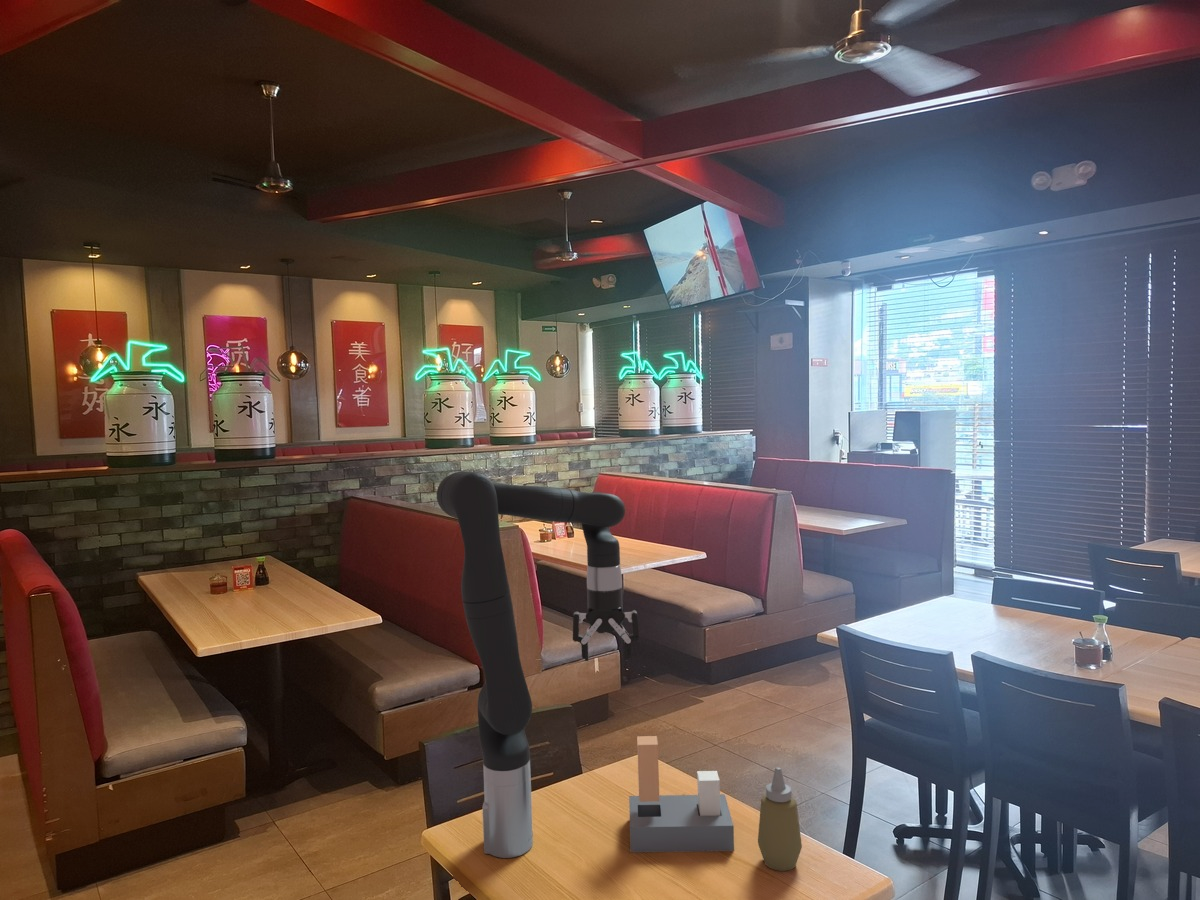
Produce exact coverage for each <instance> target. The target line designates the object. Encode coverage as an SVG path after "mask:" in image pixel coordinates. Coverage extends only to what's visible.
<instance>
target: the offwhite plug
mask: <svg viewBox="0 0 1200 900" xmlns="http://www.w3.org/2000/svg"><path fill="white" fill-rule="evenodd" d="M696 772H697V775H696V776H697V778H696V779H697V795H698V814H699V816H720V794H721V787H720V786H721V783H720V777H719V774H718V770H697V771H696Z"/></svg>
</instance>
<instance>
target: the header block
mask: <svg viewBox="0 0 1200 900" xmlns="http://www.w3.org/2000/svg"><path fill="white" fill-rule="evenodd" d="M726 797H727V796H726V794H724V793H723V794H721V793H720V816H699V814H698V794H675V795H674V794H673V795H672V794H670V795H669V794H667V795H660V794H659V801H649V802H639V795H629V796H628V798H629V799H628V803H629V805H628V808H629V837H630V838H629V841H630V847H629V848H630V853H669V852H670V853H671V852H672V853H675V852H676V853H680V852H681V853H682V852H684V853H686V852H689V853H691V852H734V851H735V840H734V839H735V835H734V834H735V833H734V831H735V830H734V829H735V826H734V822H733V819H732V816H731V811H730V808H729V804H728V801H727V800H728V799H727V798H726Z"/></svg>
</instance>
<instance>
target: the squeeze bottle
mask: <svg viewBox="0 0 1200 900" xmlns="http://www.w3.org/2000/svg"><path fill="white" fill-rule="evenodd" d="M792 795H793V794H792V787H791V786H790V785H788V784H786V783H785V778H784V774H783V771H782V768H781V767H775V768H774V773H773V777H772V781H771V782H770V783H768V784H767V785H766V786H765V795H764V796H762V798H761V800H760V807H759V812H760V813H759V822H758V835H757V845H758V848H759V851H760V853H761V856H762V859H763V861H764V864H765V865H766V866H767V867H768V868H770V869H772V870H775V871H780V872H787V871H791V870H793V869H794V868H796V865H797V863H798V859H799V858H800V853H801V851H802V849H803V843H802V837H801V830H800V829H801V828H800V821H799V811H798V804H797V800H796V799H795V798H793V797H792Z"/></svg>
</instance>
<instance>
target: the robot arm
mask: <svg viewBox="0 0 1200 900" xmlns="http://www.w3.org/2000/svg"><path fill="white" fill-rule="evenodd" d="M436 500H437V503H438V506H439V507H440V509H441V510H442V511H443V513H445V514H446V515H448V516H449V517H452V518H454V519H457V521H458V525H459V528H460V533H461V538H462V542H463V548H464V559H463V568H462V573H461V583H460V584H461V585H460V591H461V599H462V606H463V611H464V616H465V621H466V624H467V628H468V631H469V634H470V636H471V639H472V644H473V645H474V648H475V651H476V653H477V656H478V658H479V660H480V664H481V666H482V667H481V668H482V670H483V676H484V682H485V683H483V685H482V687H481V689H480V690H479V693H478V698H477V721H478V736H479V744H480V745H479V746H480V750H481V754H482V764H483V793H484V800H483V803H482V828H483V829H482V830H483V853H484V854H486V855H488V854H489V855H491V856H494V857H497V858H502V859H509V858H510V859H511V858H516V857H520V856H521V855H524V854H526V853H527V852H528V851H530V849H532V847H533V845H534V839H533V838H534V837H533V836H534V832H533V807H532V783H531V782H532V781H531V779H532V778H531V756H530V755H531V751H530V744H529V742H528V739H527V735H526V731H525V729H526V727H527V725H528V724H529V722H530V720H531V717H532V712H533V701H532V698H531V694H530V691H529V688H528V684H527V681H526V678H525V673H524V670H523V666H522V663H521V658H520V652H519V641H518V636H517V635H518V633H517V626H516V620H515V614H514V606H513V600H512V594H511V590H510V585H509V580H508V579H509V578H508V575H507V570H506V569H507V568H506V564H505V558H504V554H503V548H502V544H501V543H502V541H501V533H500V521H499V520H500V517H499V515H502V516H511V517H517V518H518V517H519V518H525V519H531V520H537V521H543V522H551V523H554V522H555V523H564V524H565V523H566V524H568V523H569V524H572V523H573V524H574V523H575V524H578V523H580V525H581V527H582V532H583V536H584V539H585V542H586V557H587V558H586V559H587V562H586V563H587V569H586V570H587V571H586V592H587V594H586V596H587V597H586V598H587V599H586V600H587V610H586V612H579V611H578V610H577V611H574V612H573V617H572V641H573V642H575V643H579V644H580V645H581V658H582V659H584V662H589V658H590V655H589V654H590V653H589V640H590V639H591V638H592V637H593V635H594V634H595V632H596V633H598V634H605V633H607V634H614V632H616V633H617V634H618V635H619V637H621V638H622V640H623V643H624V644H623V645H624V647H623V648H624V649H623V650H624V661H629V659H630V658H631V656H632V642H635V641H638V640H639V639H640V632H639V631H640V629H639V623H638V622H639V621H638V620H639V619H638V612H637V610H635V609H633V610H632V611H624V609H623V579H622V577H623V576H622V569H621V551H620V549H621V547H620V542H619V540H618V539H617V537H615V536H614V535H613V534H612V533H611V527H615V526H617V525H618V524H620V523H621V522H622V521H623V519H624V517H625V515H626V506H625V503H624V501H623V500H622V499H621V498H620V497H619V496H617V495H615V494H613V493H608V492H607V493H606V492H599V491H593V492H586V491H579V490H575V489H570V488H564V487H562V488H561V487H554V486H543V485H542V486H541V485H518V484H517V485H516V484H507V483H501V482H496V481H495V482H494V481H492V480H491V479H490V478H489V477H488V476H486V475H485V474H484V473H481V472H477V471H476V472H475V471H457V472H453V473H451V474H450V473H449V475H446V476H445V477H444V478H443V479H442V480H441V482H440V483H439V484H438V487H437V490H436ZM584 619H585V620H586V621H587V622H588V624H589V626H588V627H587V629H586V631H585V632H584V634H583V635H582V634H580V624H583V620H584ZM625 619H627V620H628V623H632V625H631V626H632V633H628V631H627V630H626V629H625V627H624V625H622V623H623V622H624V620H625Z"/></svg>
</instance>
